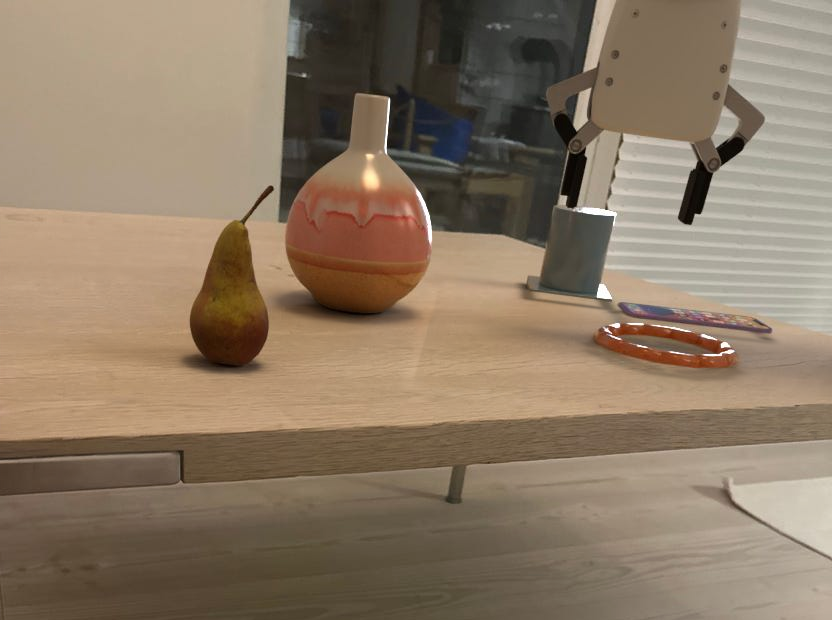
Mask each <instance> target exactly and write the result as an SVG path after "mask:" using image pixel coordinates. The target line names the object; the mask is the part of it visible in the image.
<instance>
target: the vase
mask: <svg viewBox="0 0 832 620" xmlns="http://www.w3.org/2000/svg"><path fill="white" fill-rule="evenodd" d="M390 105H391V99H390V97H389V96H385V95H378V94H377V95H376V94H368V93H359V92H357V93H355V95H354V99H353V109H352V119H351V127H350V128H351V129H350V138H349V143H348V148H347V149H346V150H345V151H343V152H342V153H341V154H339V155H338V156H337V157H334V158H333V159H331V160H330V161H329V162H327V163H326V164H325V165H324V166H322V167H320V168H319V170H317V171H316V172H315V173H313V175H312V176H311V177H310V178H309V179H308V180H307V181H306V182H305V184H304V185H303V186H301V188H300V189H299V191H298V193H297V194H296V197H295V198H294V200H293V201H292V205H291V206H290V210H289V213H288V218H287V221H286V226H285V233H284V237H285V238H284V246H285V253H286V257H287V261H288V263H289V266H290V268H291V270H292V272H293V274H294V276H295V277H296V279H297V280H298V282H299V283H300V284H301V285H302V286H303V287H304V288H305V289H306V290H307V291H308V292H309V294H310V295H311V297H312V298H313V299H314V300H315V302H317V304H319V305H320V306H323V307H325V308H328V309H331V310H333V311H334V310H335V311H340V312H345V313H352V314H377V313H383V312H386V311H388V310H390V309H391V308H393V307H394V306H395V305H396V303H397V302H399V301H401V300H403V298H405V297H406V296H408V295H409V294H410V293H411V292H413V290H414V289H415V288H416V287H417V286H418V285H419V283H420V282H421V281H422V280H423V278H424V276H425V274H426V272H427V270H428V268H429V264H430V262H431V259H432V258H431V257H432V251H433V229H432V222H431V217H430V212H429V210H428V208H427V205H426V204H427V203H426V202H425V200H424V198H423V196H422V194H421V192H420V191H419V189H418V188H417V186H416V184H415V183H414V182H413V181H412V180H411V179H410V177H409V176H408V174H407V173H406V172H405V171H404V170H403V169H402V168H401V167H400V166H399V165H398V164H397V162H395V161H394V160H393V159H392V158H391V157H390V156H389V154H388V153H387V141H388V129H389V116H390Z"/></svg>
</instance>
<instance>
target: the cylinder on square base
mask: <svg viewBox="0 0 832 620" xmlns="http://www.w3.org/2000/svg"><path fill="white" fill-rule="evenodd" d="M616 217H617V213H616V212H613V211H609V210H605V209H600V208H594V207H589V206H588V207H587V206H579V205H577V207H574V209H572V208H567V206H566V204H556V205H555V204H554V205H553V207H552V211H551V217H550V223H549V227H548V233H547V237H546V243H545V248H544V253H543V259H542V263H541V268H540V274H539V276H538V275H537V276H536V275H529V274H528V275H527V278H526V283H525V284H526V287H527V290H529V292H535V293H541V294H551V295H558V296H565V297H566V296H567V297H573V298H581V299H582V298H583V299H587V300H589V299H590V300H597V301H606V302H613V298H612V296H611V294H610V293H609V291H608V290H607V288H606V286H605V285H604V284H601V283H602V279H603V274H604V269H605V265H606V260H607V256H608V253H609V252H608V251H609V247H610V243H611V239H612V234H613V231H614V230H613V229H614V225H615V220H616Z"/></svg>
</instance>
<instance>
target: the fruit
mask: <svg viewBox="0 0 832 620" xmlns="http://www.w3.org/2000/svg"><path fill="white" fill-rule="evenodd" d="M274 191H275V188H274V186H273V185H268V186H267V187H266V188H265V189H264V190H263V192H262V193H260V195H259V197H258V198H257V200H256V201H255V202H254V204H253V206H252V207H251V208H250V209H249V210H248V212H247V213H246V214H245V215H244V216H243V218H241V219H240V220H238V219H234V220H232V221H230V223H228V224H227V225H226V226H225V227H224V228H223V229H222V231H221V233H220V235H219V236H218V238H217V240H216V242H215V244H214V247H213V250H212V254H211V256H210V259H209V261H208V264H207V268H206V271H205V275H204V279H203V283H202V285H201V288H200V291H199V292H198V294H197V295H196V297H195V298H194V301H193V303H192V306H191V309H190V313H189V330H190V334H191V337H192V340H193V342H194V344H195V347H196V348H197V349H198V351H199V352H200V354H202V355H203V356H204V357H205V359H207V360H209V361H211V362H212V363H217V364H223V365H232V366H243V365H246V364H248V363H250V362H251V361H253V360H255V358H256V357H257V356H258V355H259V354H260V353H261V352H262V350H263V348H264V347H265V344H266V342H267V339H268V335H269V329H270V326H269V325H270V321H269V320H270V319H269V313H268V312H269V311H268V308H267V307H268V306H267V305H266V302H265V300H264V298H263V295H262V293H261V290H260V288H259V286H258V282H257V280H256V275H255V270H254V264H253V252H252V244H251V242H250V237H249V230H248V228H247V226H245V225H246V222H247V221H248V219H250V217H251V216H252V215H253V213H254V212H255V211H256V209H257V208H258V207H259V206H260V204H261V203H262V202H263V201H264V200H265V199H266V198H268V196H269V195H270V194H272V193H273V192H274Z"/></svg>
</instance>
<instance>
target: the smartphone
mask: <svg viewBox="0 0 832 620" xmlns="http://www.w3.org/2000/svg"><path fill="white" fill-rule="evenodd" d="M617 306H618V307H619V308H620V309H621V310H622V311H623V313H624V314H625V315H626V316H628V317H630V318H634V319H641V320H649V321H658V322H667V323H674V324H683V325H693V326H700V327H710V328H719V329H724V330H725V329H727V330H735V331H744V332H753V333H762V334H772V333H773V328H772V327H770V326H769V325H767V324H765V323H764V322H762V321H760V320H759V319H757V318H755V317H752V316H748V315H747V316H746V315H741V314H740V315H738V314H731V313H723V312H714V311H713V312H712V311H706V310H705V311H704V310H695V309H688V308H687V309H686V308H678V307H670V306H661V305H660V306H659V305H651V304H644V303H634V302H624V301H619V302H618V303H617Z"/></svg>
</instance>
